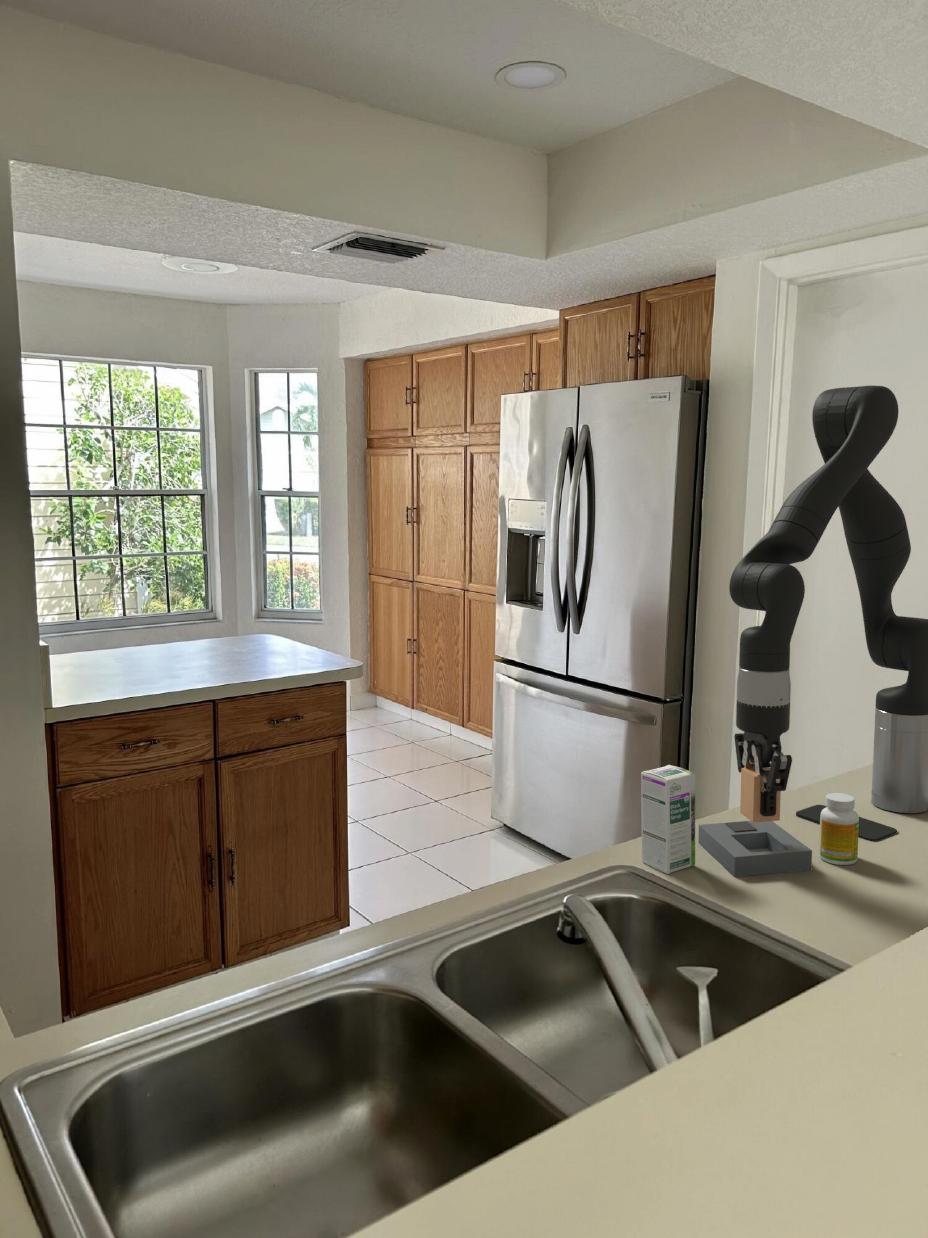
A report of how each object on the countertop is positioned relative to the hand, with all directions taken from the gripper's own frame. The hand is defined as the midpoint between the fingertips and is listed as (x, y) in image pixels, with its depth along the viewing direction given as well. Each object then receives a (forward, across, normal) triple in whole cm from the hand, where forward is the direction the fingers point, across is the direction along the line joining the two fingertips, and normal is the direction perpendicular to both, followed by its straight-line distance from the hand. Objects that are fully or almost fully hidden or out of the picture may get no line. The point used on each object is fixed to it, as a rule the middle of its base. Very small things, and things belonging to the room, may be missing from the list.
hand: (760, 809), depth 136 cm
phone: (+9, +12, -21) cm, 25 cm away
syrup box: (+8, +2, +14) cm, 16 cm away
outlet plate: (+8, +2, 0) cm, 8 cm away
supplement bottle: (+8, -2, -12) cm, 15 cm away
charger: (+1, 0, 0) cm, 1 cm away
